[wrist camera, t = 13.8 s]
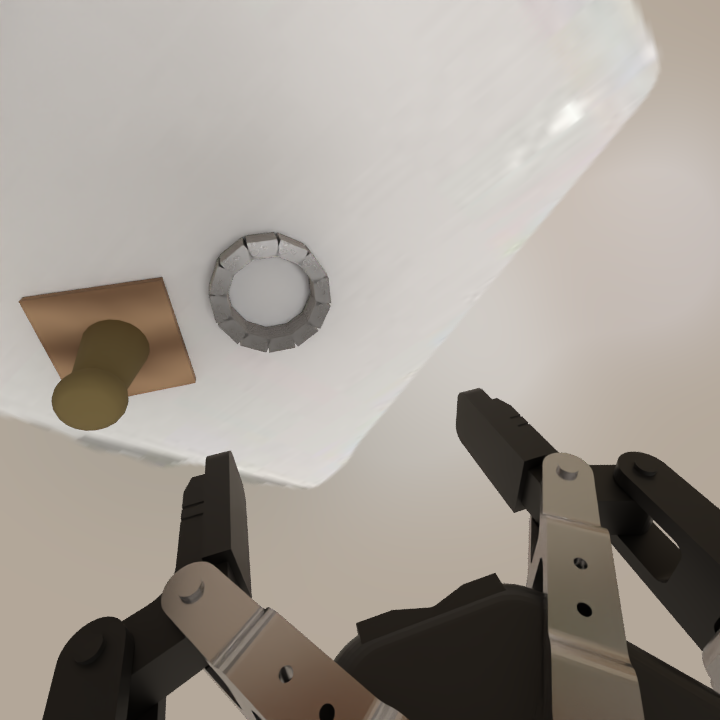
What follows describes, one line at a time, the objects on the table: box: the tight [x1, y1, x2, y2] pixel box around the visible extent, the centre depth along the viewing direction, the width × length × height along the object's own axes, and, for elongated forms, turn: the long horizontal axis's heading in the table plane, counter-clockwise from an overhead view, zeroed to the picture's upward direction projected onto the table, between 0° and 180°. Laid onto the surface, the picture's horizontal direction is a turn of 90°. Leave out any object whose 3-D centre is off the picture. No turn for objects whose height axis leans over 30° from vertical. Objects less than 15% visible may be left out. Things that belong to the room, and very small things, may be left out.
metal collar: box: [209, 232, 331, 353], centre depth 42 cm, size 12×12×3 cm
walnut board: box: [19, 277, 196, 396], centre depth 41 cm, size 12×12×1 cm
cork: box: [52, 319, 150, 431], centre depth 36 cm, size 6×6×11 cm
